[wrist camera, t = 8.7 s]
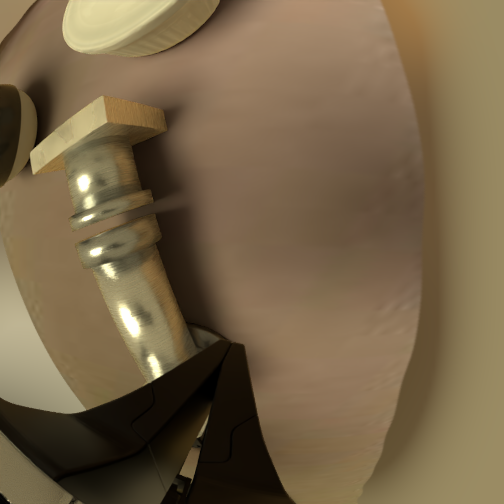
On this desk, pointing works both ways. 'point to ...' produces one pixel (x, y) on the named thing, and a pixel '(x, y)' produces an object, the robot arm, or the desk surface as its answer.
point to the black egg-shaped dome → (15, 131)
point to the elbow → (139, 295)
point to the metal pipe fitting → (105, 166)
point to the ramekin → (132, 24)
